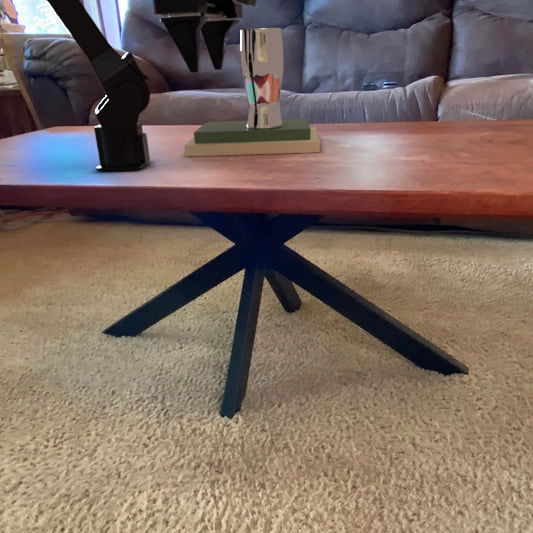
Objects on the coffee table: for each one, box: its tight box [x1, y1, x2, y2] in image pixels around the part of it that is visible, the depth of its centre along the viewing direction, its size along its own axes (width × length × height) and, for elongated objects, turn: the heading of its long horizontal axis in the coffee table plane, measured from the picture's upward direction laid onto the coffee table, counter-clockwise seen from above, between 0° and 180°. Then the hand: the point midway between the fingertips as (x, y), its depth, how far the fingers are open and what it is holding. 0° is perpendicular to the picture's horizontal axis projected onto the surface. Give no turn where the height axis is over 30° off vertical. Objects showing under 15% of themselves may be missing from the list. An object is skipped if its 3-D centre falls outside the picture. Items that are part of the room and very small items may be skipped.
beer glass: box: [239, 27, 285, 129], centre depth 83 cm, size 7×7×15 cm
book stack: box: [183, 118, 321, 158], centre depth 89 cm, size 22×16×4 cm
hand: (207, 70), depth 76 cm, fingers open, 9 cm apart
